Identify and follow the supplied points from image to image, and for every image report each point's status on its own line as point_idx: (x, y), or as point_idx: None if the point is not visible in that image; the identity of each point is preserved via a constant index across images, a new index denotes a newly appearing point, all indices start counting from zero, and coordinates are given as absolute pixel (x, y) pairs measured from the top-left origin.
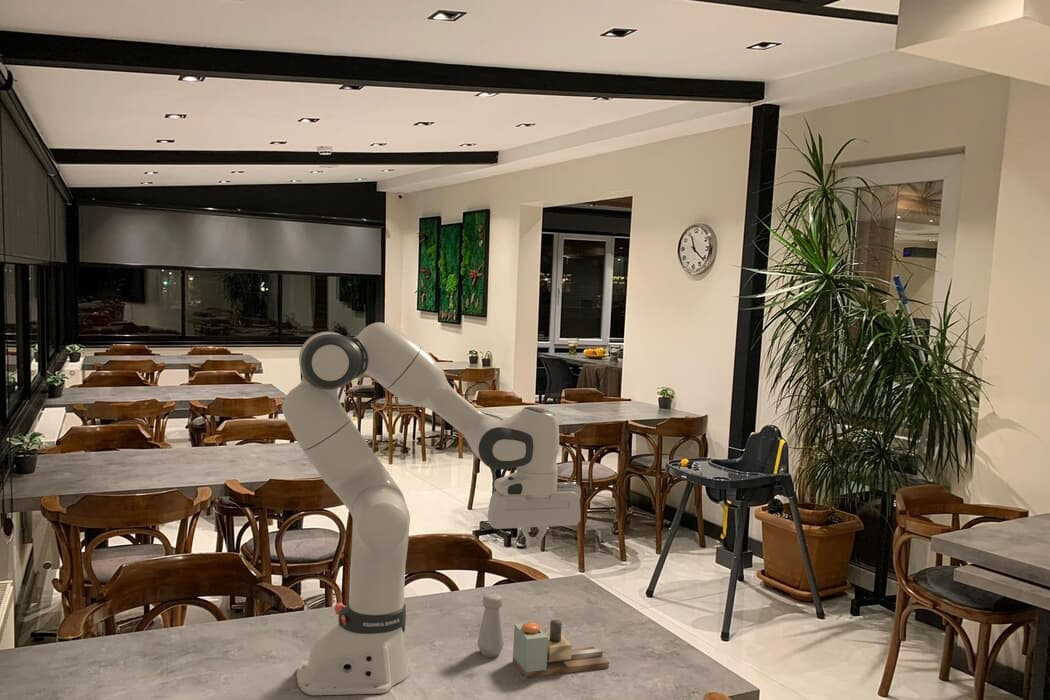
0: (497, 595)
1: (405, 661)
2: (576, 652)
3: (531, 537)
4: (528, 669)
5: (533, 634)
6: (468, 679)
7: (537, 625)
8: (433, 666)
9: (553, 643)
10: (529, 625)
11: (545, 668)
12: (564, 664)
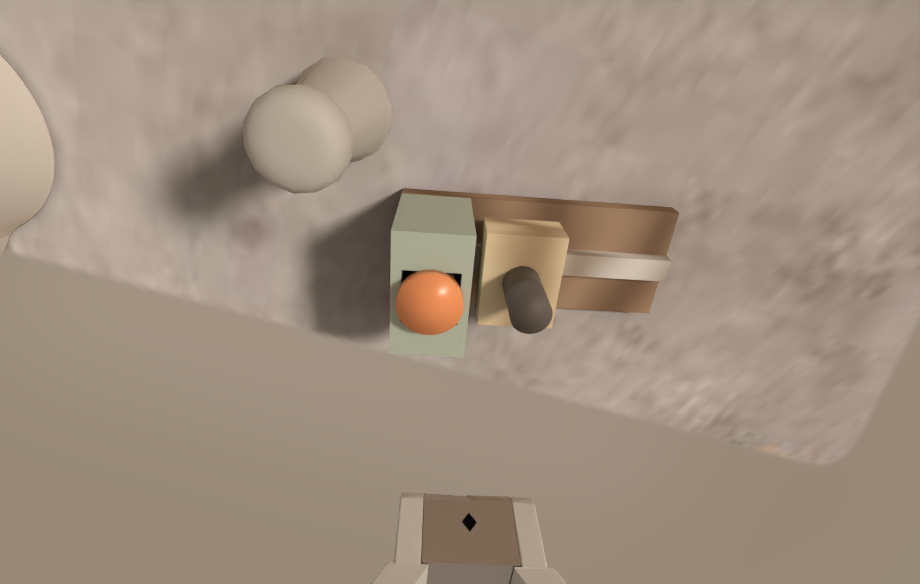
0: (316, 154)
1: (9, 186)
2: (588, 264)
3: (457, 568)
4: None
5: None
6: (241, 253)
7: (455, 306)
8: (139, 140)
9: (503, 302)
10: (426, 298)
11: None
12: None
